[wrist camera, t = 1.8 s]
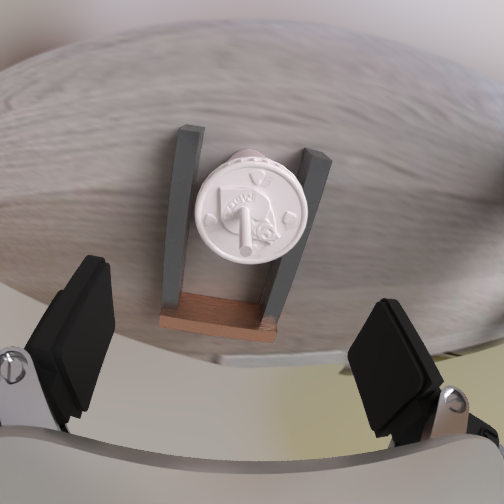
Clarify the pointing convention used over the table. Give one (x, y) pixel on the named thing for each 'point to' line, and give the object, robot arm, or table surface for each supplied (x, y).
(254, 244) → the smoothie
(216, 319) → the grey frame
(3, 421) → the robot arm
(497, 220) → the table surface
